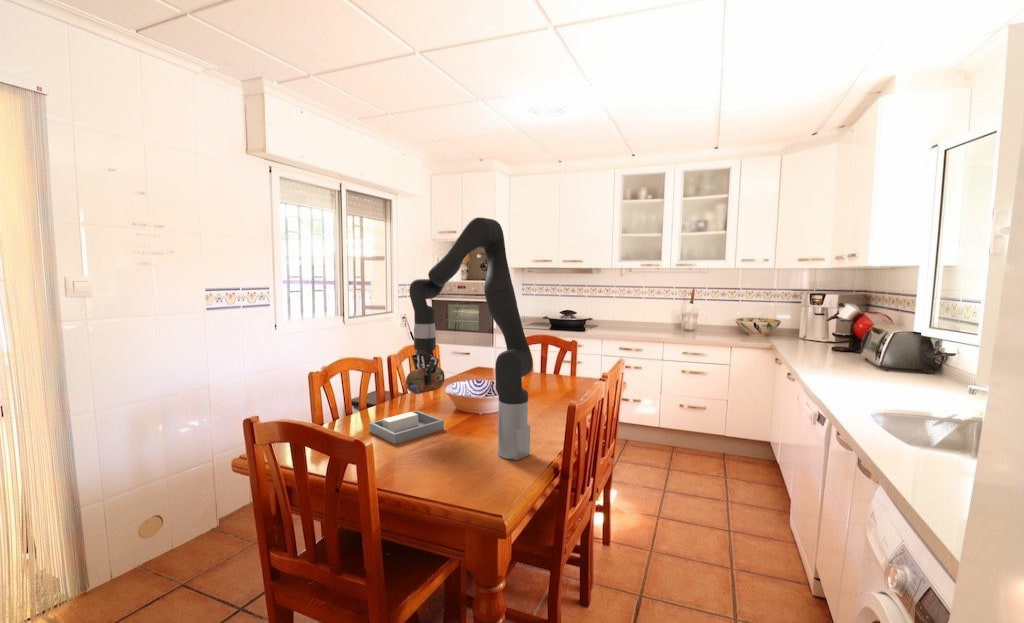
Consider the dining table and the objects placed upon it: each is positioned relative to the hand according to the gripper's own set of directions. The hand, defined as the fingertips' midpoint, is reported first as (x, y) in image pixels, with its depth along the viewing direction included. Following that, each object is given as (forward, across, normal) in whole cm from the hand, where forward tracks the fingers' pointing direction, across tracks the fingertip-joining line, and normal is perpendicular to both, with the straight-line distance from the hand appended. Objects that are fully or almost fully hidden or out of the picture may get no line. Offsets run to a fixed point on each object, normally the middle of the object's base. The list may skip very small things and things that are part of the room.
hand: (425, 384), depth 162 cm
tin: (+3, 0, 0) cm, 3 cm away
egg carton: (+16, +7, +6) cm, 18 cm away
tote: (+17, +3, +6) cm, 18 cm away
